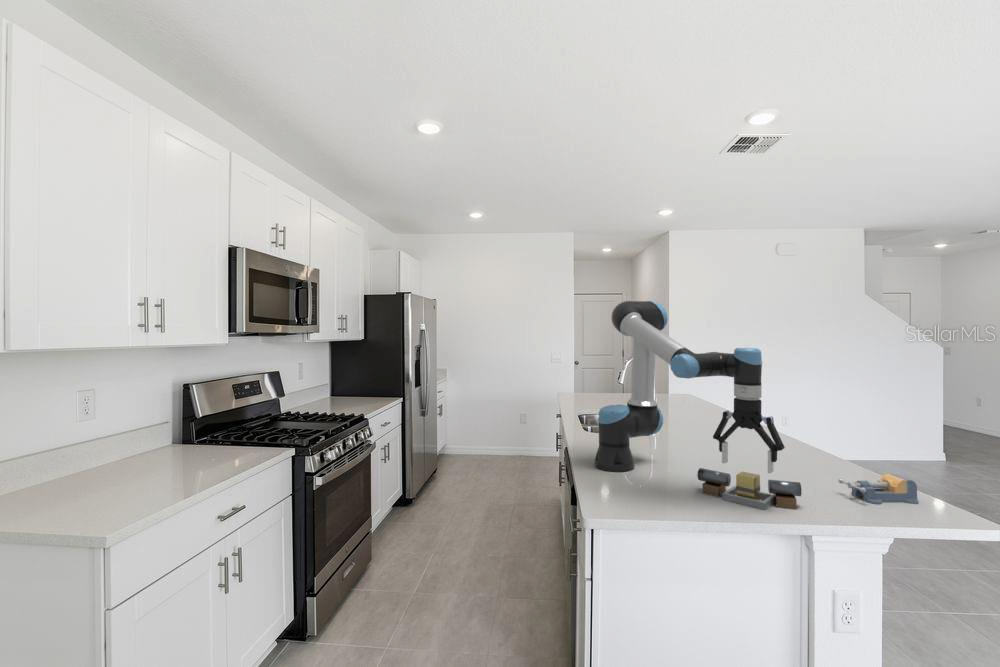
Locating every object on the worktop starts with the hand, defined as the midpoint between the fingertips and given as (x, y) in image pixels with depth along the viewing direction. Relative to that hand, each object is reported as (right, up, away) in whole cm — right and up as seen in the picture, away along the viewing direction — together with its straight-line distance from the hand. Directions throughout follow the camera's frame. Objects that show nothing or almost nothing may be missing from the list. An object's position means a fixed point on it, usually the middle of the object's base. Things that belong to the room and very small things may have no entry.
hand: (746, 467), depth 143 cm
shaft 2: (+9, -10, -4) cm, 14 cm away
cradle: (0, -10, 0) cm, 10 cm away
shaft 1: (-7, -10, +7) cm, 14 cm away
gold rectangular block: (0, -10, 0) cm, 10 cm away
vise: (+41, -10, 0) cm, 42 cm away
